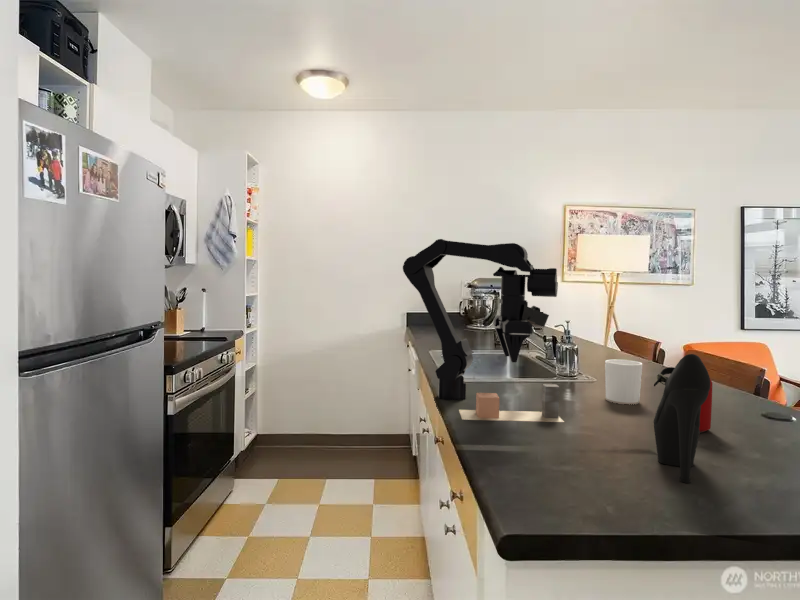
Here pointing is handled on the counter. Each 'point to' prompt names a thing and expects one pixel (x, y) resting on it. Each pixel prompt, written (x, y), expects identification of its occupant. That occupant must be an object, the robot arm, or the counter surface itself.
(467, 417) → the strip
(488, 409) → the block
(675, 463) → the high-heeled shoe
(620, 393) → the mug
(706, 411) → the beverage can
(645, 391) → the counter surface
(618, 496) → the counter surface
